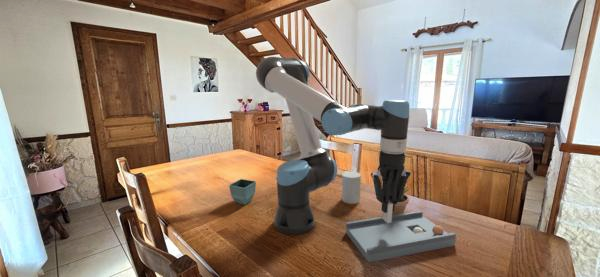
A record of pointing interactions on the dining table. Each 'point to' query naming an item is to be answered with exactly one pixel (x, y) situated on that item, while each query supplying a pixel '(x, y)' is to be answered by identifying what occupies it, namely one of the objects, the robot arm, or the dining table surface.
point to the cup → (351, 187)
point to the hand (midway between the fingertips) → (386, 220)
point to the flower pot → (242, 190)
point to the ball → (417, 230)
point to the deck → (396, 236)
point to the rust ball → (438, 230)
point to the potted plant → (401, 203)
